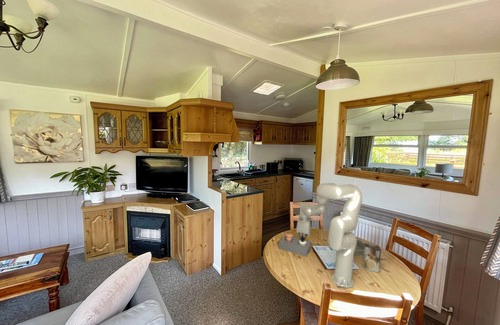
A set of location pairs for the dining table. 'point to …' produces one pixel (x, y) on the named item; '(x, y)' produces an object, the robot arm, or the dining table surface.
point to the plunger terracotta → (289, 237)
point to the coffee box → (371, 257)
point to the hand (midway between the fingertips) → (302, 241)
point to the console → (295, 246)
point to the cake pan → (359, 248)
